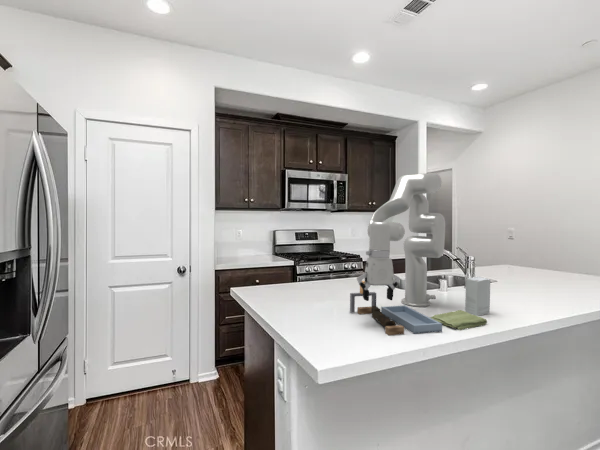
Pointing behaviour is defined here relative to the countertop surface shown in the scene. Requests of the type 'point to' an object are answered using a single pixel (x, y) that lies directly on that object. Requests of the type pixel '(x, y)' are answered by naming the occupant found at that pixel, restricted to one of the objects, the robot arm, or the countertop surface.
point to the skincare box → (477, 296)
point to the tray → (411, 319)
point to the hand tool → (381, 317)
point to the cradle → (388, 329)
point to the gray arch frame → (352, 295)
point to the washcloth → (459, 320)
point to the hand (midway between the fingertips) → (377, 299)
